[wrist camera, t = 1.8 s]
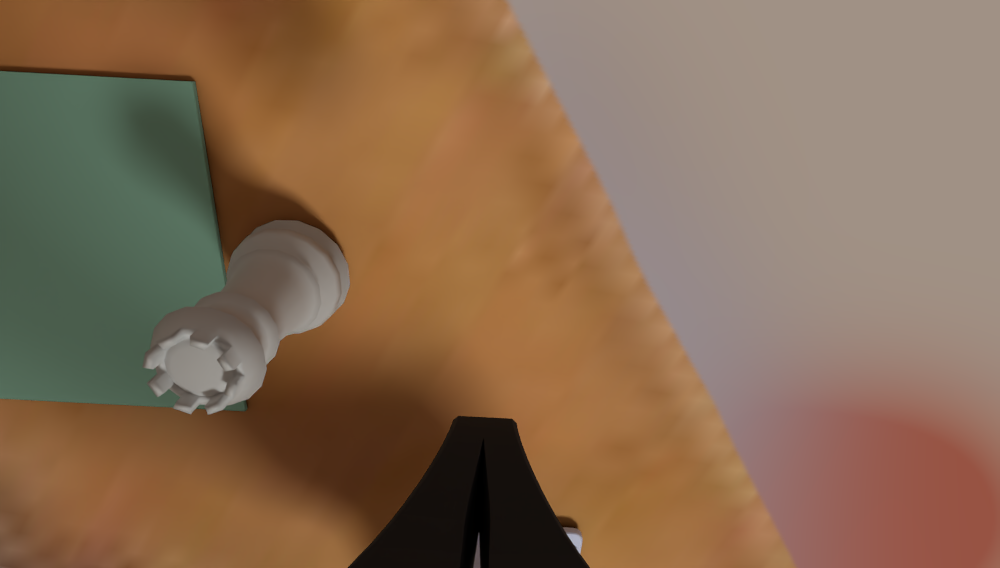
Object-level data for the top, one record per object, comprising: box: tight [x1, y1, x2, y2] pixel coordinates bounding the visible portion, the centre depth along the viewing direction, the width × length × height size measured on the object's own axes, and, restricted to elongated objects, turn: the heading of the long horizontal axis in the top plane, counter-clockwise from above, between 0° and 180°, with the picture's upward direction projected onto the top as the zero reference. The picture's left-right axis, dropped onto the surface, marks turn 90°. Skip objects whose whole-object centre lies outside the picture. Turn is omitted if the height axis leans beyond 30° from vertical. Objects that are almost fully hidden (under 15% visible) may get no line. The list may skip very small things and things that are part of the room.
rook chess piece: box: [142, 220, 350, 415], centre depth 18 cm, size 4×4×8 cm
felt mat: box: [0, 71, 247, 411], centre depth 22 cm, size 14×12×1 cm
